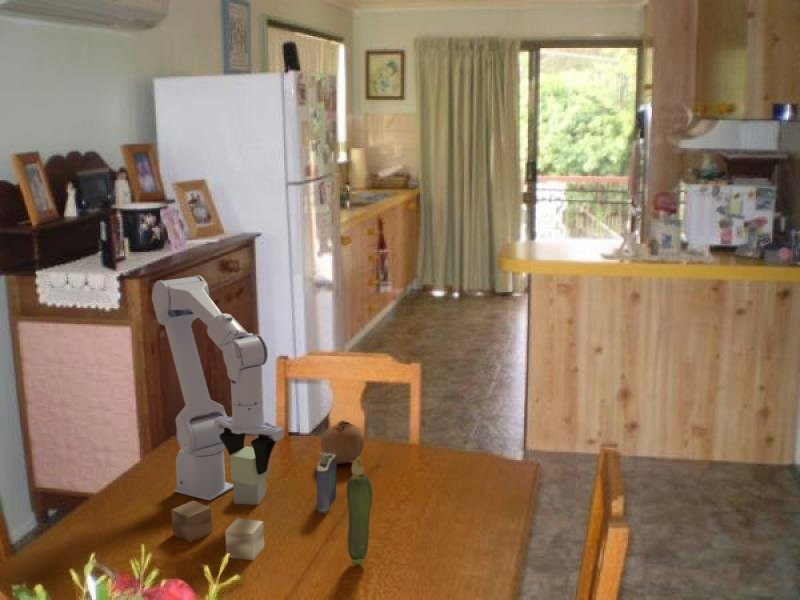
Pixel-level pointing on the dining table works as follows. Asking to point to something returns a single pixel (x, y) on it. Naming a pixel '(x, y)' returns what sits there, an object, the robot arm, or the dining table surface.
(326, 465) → the flask
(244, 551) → the cream cube
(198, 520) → the walnut cube
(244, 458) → the green cube
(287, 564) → the dining table surface
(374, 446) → the dining table surface
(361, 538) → the vegetable
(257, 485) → the grey cube
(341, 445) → the onion
